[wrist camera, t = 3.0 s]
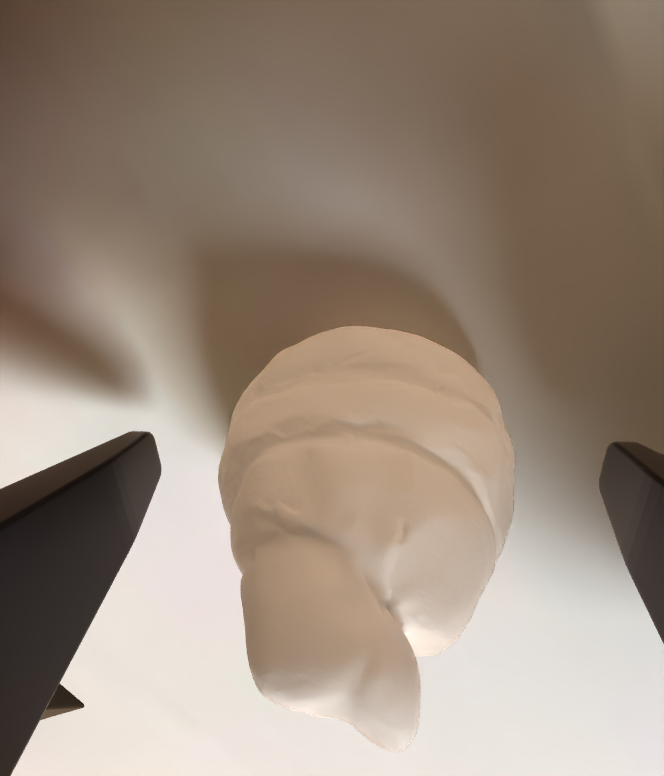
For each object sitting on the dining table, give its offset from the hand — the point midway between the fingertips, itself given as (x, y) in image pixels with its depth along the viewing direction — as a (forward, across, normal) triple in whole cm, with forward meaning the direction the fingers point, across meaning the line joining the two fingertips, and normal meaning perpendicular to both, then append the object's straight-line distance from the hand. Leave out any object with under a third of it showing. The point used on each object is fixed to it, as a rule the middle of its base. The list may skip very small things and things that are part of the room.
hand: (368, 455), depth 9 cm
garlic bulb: (+2, 0, 0) cm, 2 cm away
